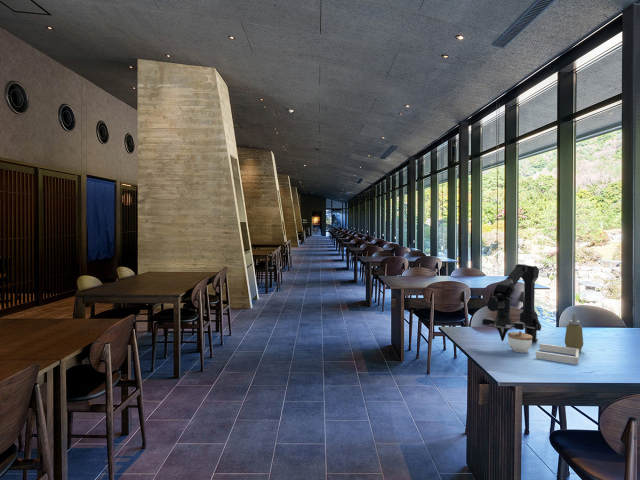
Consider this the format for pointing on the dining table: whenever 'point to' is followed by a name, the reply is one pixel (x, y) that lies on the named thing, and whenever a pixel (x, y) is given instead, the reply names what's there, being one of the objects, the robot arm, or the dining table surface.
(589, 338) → the dining table surface
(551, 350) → the box
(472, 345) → the dining table surface
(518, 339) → the lidded jar
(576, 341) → the squeeze bottle
